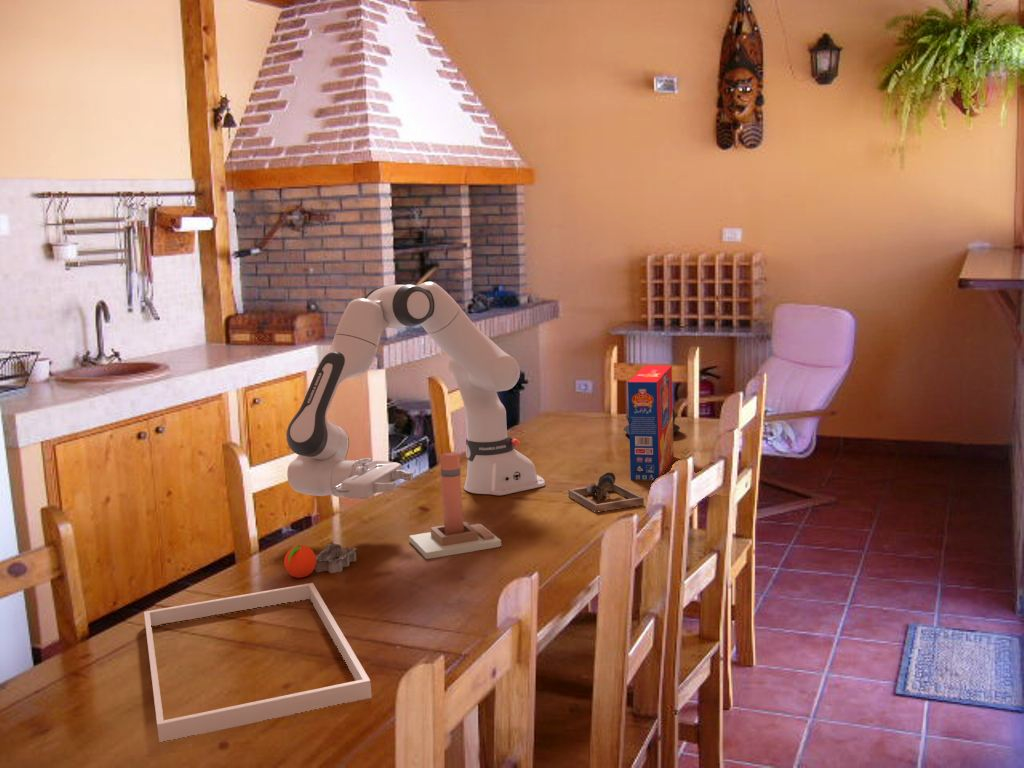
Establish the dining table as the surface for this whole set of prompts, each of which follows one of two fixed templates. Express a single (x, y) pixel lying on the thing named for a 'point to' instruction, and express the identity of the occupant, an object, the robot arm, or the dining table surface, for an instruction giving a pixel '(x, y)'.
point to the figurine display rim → (630, 502)
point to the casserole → (675, 427)
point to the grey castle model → (334, 558)
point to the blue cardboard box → (650, 422)
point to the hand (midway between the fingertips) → (403, 481)
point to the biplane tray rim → (261, 708)
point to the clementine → (300, 561)
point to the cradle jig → (454, 541)
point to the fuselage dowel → (451, 493)
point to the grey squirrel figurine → (602, 485)
